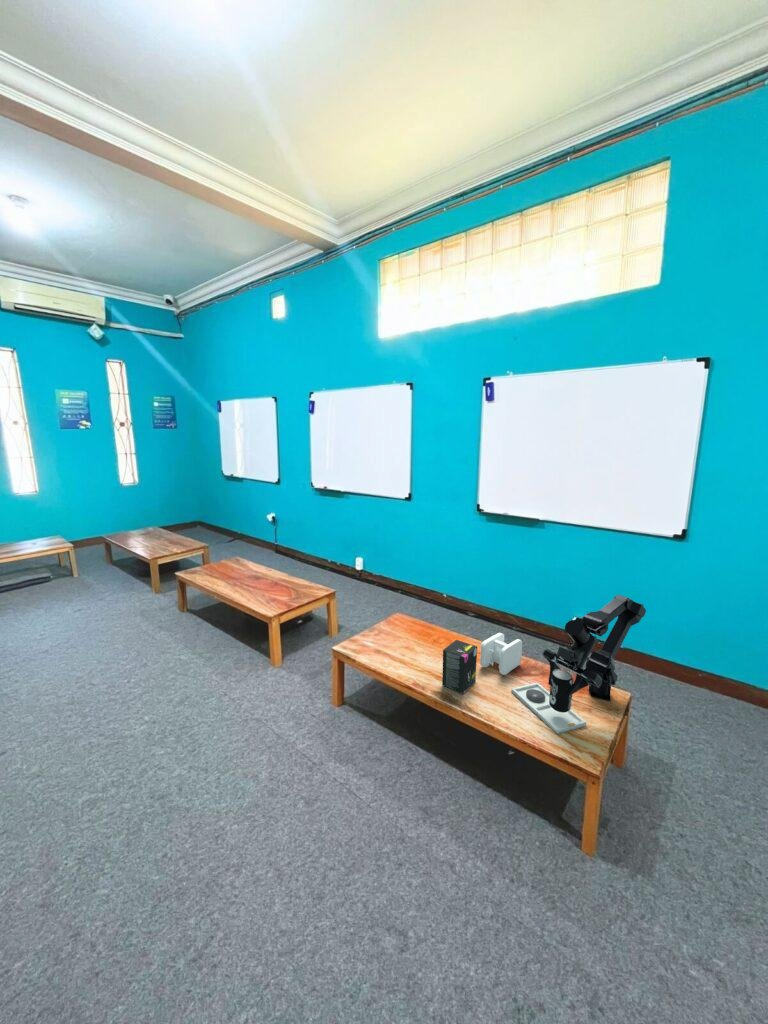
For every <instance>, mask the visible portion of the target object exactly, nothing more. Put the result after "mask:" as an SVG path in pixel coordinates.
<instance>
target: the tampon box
mask: <svg viewBox="0 0 768 1024" xmlns="http://www.w3.org/2000/svg"><path fill="white" fill-rule="evenodd" d="M477 657H478V646H476V645H474V644H471V643H467V642H466V641H465V642H464V641H461V640H459V639H455V640H454V641H453V642H451V643H450V644H449V645H447V646H446V647H445V648H444V649H443V650H442V676H441V677H442V683H441V685H442V687H446V688H447V689H450V690H453V691H455V692H457V693H460V694H462V695H464V694H465V693H466V692H468V690H469V689H470V688H471V687H472V686H473V685H474V684H475V683H476V681H477V679H476V678H477V677H476V676H477Z"/></svg>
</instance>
